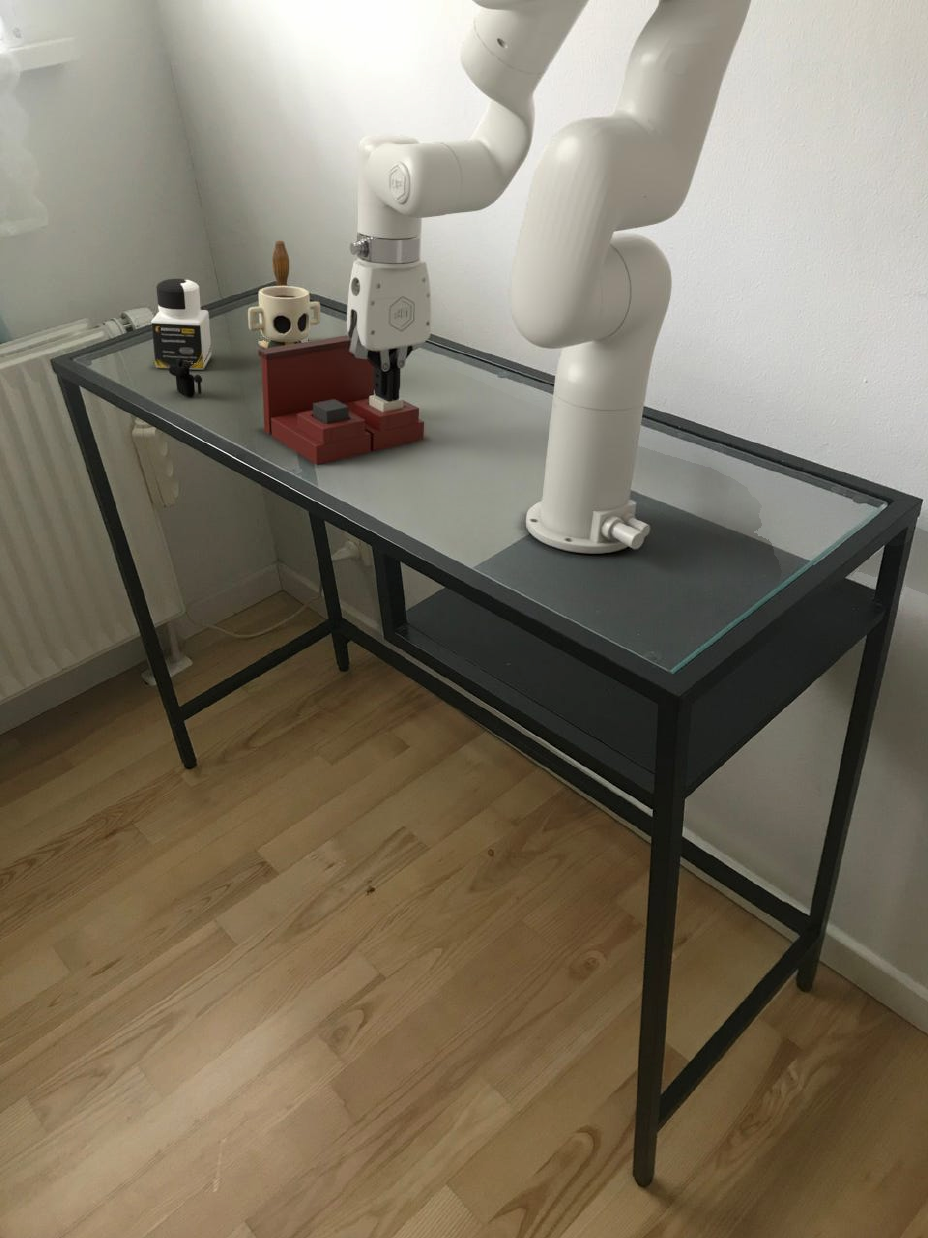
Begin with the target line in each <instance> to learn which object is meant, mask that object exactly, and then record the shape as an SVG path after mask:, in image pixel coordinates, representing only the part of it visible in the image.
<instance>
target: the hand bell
mask: <svg viewBox="0 0 928 1238" xmlns="http://www.w3.org/2000/svg"><path fill="white" fill-rule="evenodd" d="M288 253H289V252H288V251H287V248H286V244H285V241H283V240H276V241H275V245H274V250H273V253H272V270H273V275H274V277H275V281H276V286H288V279H289V275H290V258H289V254H288ZM268 343H269V342H266V341H264V340H263V341H259V340H258V345H259V347H261V348H262V349H266V348H267V346H268Z"/></svg>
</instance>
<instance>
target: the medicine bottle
mask: <svg viewBox="0 0 928 1238" xmlns="http://www.w3.org/2000/svg"><path fill="white" fill-rule="evenodd" d="M155 288H156V299H157V306H158V307H157V309H158V312H157V313H156V315H155V316H154V317H153V318H152V319H151V321H150V324H151V325H150V326H151V335H152V346H153V355H154V365H155V368H156V369H168V370H169V368H170V365H171V364H175V365H177V359H178V358H180V359H182V360H183V361H188V362H189V363H190V366H191V367H190V369H189V371H190V370H193V371H203V370H205V367H206V366H207V364H208V362H209V361H210V359H211V357H212V351H211V352H210V353H209V355H208V357H207V359H206V360H205V358H206V355H207V354H208V351H209V348H210V345H211V346H212V343H211V331H210V330H211V329H210V313H209V311H208V310H207V309H201V296H200V294H201V293H200V286H199V284H198V283H197V282H195V281H193V280H190V279H186V278H168V279H164V280H162V281H160V282H158V283H157V284H156V287H155ZM204 360H205V362H204ZM191 363H193V364H191ZM194 363H196V364H194ZM197 363H204V364H197ZM177 366H178V365H177ZM181 367H183V366H181Z"/></svg>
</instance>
